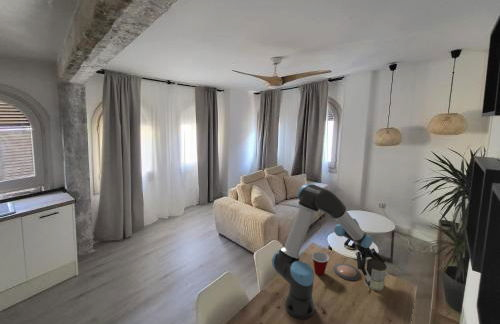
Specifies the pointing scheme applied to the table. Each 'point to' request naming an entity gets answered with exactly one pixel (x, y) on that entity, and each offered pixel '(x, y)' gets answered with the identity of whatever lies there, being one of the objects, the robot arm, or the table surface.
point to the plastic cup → (320, 262)
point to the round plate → (346, 271)
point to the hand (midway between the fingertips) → (378, 278)
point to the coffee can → (376, 274)
